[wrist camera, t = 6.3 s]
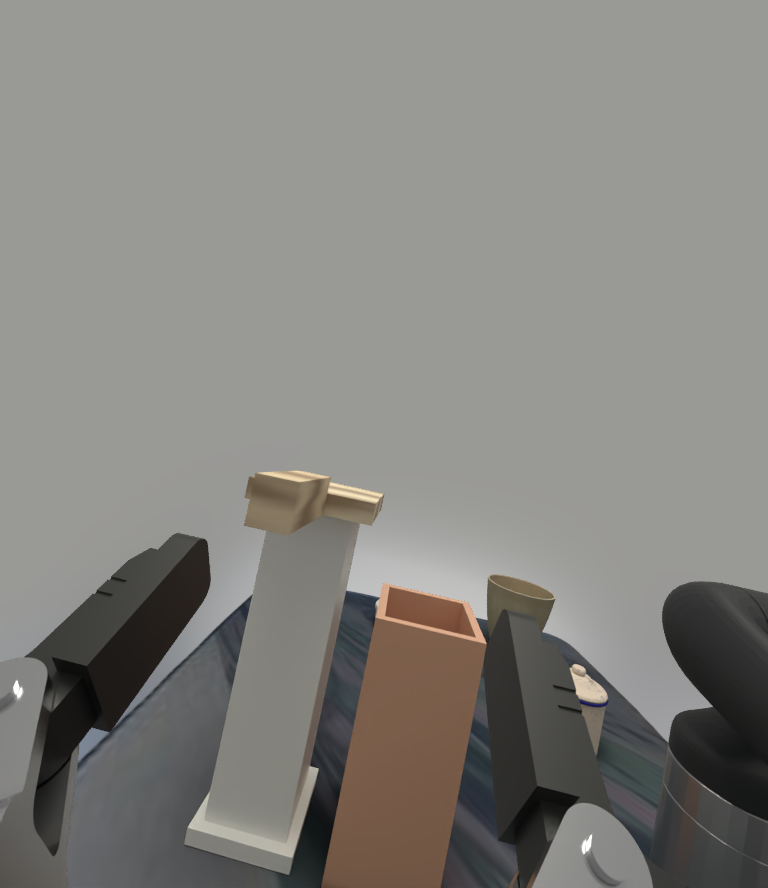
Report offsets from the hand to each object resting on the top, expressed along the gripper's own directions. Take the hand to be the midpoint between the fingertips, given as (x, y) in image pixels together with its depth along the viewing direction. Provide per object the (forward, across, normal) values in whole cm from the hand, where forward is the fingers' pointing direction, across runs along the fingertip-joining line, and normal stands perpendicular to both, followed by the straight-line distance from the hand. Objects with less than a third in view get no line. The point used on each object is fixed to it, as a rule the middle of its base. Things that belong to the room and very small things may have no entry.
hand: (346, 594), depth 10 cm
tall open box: (+9, -6, +44) cm, 46 cm away
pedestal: (+9, +7, +45) cm, 46 cm away
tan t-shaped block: (+21, +7, +14) cm, 26 cm away
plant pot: (+53, -32, +70) cm, 93 cm away
